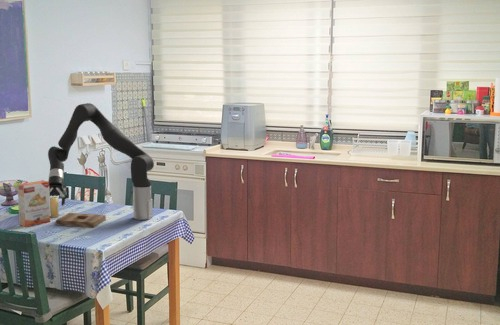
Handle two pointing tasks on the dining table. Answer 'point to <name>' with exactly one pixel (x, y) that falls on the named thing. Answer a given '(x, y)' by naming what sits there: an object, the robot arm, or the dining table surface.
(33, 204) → the cracker box
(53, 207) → the ochre peg
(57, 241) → the dining table surface
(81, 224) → the walnut pocket board
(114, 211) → the dining table surface
